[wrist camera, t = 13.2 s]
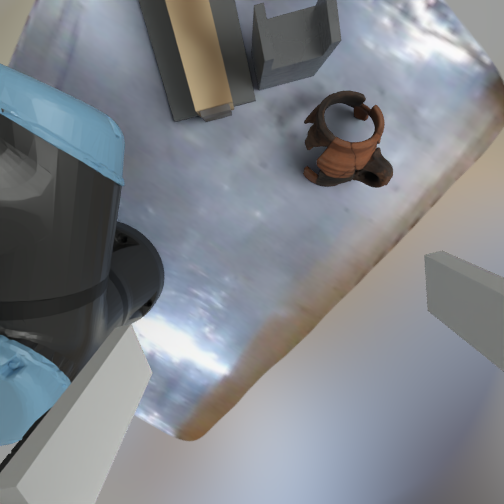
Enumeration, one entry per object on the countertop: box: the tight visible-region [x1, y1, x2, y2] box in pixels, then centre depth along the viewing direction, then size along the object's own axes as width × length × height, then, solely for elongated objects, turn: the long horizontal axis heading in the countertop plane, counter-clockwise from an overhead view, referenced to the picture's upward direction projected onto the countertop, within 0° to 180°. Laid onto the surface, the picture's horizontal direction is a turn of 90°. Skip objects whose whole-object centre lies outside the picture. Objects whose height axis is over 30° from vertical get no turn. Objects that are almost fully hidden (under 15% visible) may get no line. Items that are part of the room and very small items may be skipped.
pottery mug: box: [303, 91, 393, 188], centre depth 33 cm, size 12×10×8 cm
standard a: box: [251, 0, 341, 90], centre depth 28 cm, size 7×4×10 cm, turn 103°
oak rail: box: [165, 0, 234, 122], centre depth 29 cm, size 4×18×4 cm, turn 14°
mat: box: [139, 0, 255, 122], centre depth 31 cm, size 10×16×1 cm, turn 13°
